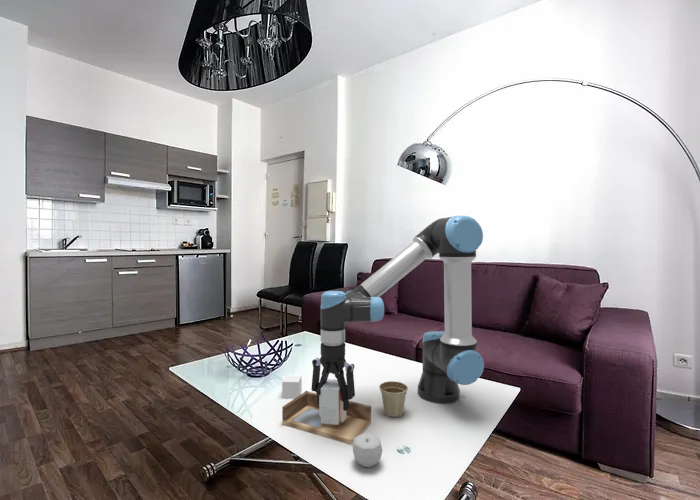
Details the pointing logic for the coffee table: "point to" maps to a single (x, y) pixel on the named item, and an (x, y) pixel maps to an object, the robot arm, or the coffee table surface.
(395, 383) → the flower pot
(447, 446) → the coffee table surface
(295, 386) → the white cube
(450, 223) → the robot arm
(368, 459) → the apple
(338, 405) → the small box
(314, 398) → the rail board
